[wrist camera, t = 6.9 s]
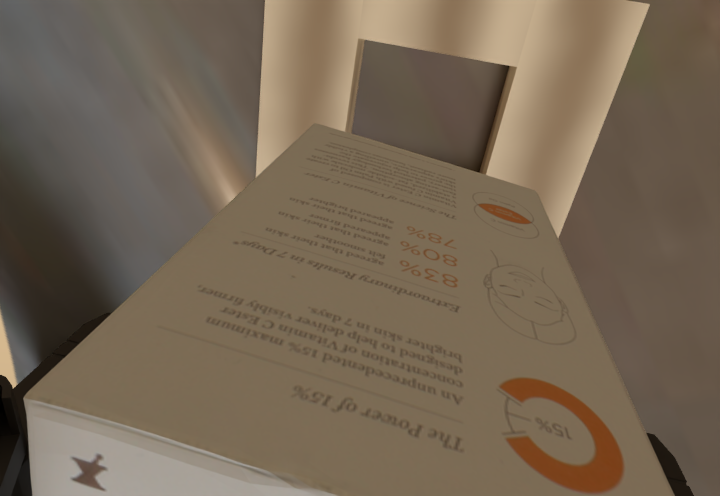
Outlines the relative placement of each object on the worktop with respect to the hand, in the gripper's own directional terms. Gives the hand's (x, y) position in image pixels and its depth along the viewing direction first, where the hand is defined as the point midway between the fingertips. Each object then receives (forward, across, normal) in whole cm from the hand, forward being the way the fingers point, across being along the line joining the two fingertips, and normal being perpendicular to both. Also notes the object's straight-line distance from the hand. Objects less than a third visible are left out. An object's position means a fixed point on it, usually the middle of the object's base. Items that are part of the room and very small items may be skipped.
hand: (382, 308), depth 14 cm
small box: (+5, 0, 0) cm, 5 cm away
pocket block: (+21, 0, 0) cm, 21 cm away
